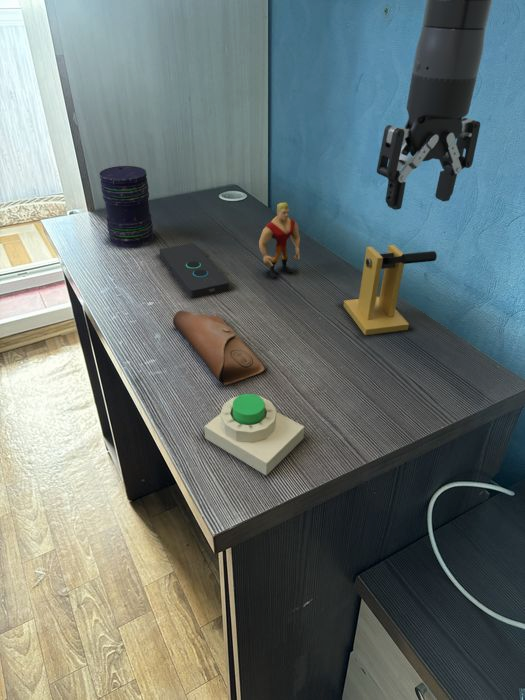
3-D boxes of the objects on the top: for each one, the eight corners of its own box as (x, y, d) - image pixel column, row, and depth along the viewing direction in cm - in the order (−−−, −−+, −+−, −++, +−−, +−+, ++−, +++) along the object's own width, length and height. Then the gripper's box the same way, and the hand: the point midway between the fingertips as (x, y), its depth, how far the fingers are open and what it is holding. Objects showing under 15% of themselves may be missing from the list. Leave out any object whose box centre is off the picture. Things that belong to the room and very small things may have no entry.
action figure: (265, 282, 102) (267, 208, 93) (255, 275, 105) (257, 202, 96) (304, 271, 106) (309, 200, 98) (294, 264, 109) (298, 194, 100)
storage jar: (158, 244, 116) (151, 177, 107) (113, 250, 112) (102, 181, 104) (148, 228, 123) (141, 164, 114) (106, 233, 120) (95, 168, 111)
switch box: (303, 438, 67) (305, 415, 65) (266, 476, 62) (267, 452, 60) (244, 406, 72) (244, 384, 70) (204, 438, 67) (203, 415, 65)
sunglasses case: (270, 368, 79) (250, 343, 74) (234, 399, 78) (213, 375, 73) (217, 313, 91) (197, 289, 86) (186, 340, 91) (165, 317, 86)
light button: (270, 412, 66) (271, 402, 65) (251, 430, 63) (251, 419, 62) (246, 399, 68) (246, 389, 67) (226, 415, 65) (226, 405, 64)
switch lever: (437, 264, 75) (436, 247, 75) (406, 267, 74) (405, 250, 74) (394, 267, 88) (393, 253, 88) (367, 270, 87) (366, 255, 87)
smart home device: (189, 290, 95) (157, 248, 110) (190, 298, 96) (158, 256, 111) (231, 281, 98) (194, 242, 113) (231, 289, 99) (194, 249, 114)
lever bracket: (408, 329, 89) (423, 262, 82) (365, 335, 87) (376, 266, 80) (383, 301, 97) (394, 237, 90) (343, 306, 95) (351, 240, 88)
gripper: (419, 78, 57) (394, 220, 66) (511, 73, 62) (476, 205, 71) (377, 69, 62) (360, 202, 72) (466, 65, 68) (439, 189, 77)
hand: (418, 203), depth 71 cm, fingers open, 8 cm apart
